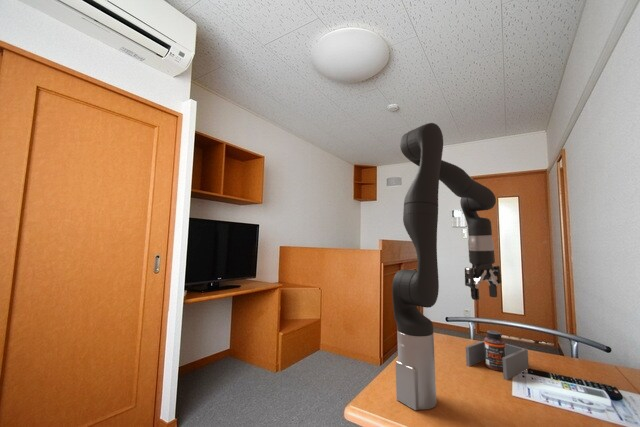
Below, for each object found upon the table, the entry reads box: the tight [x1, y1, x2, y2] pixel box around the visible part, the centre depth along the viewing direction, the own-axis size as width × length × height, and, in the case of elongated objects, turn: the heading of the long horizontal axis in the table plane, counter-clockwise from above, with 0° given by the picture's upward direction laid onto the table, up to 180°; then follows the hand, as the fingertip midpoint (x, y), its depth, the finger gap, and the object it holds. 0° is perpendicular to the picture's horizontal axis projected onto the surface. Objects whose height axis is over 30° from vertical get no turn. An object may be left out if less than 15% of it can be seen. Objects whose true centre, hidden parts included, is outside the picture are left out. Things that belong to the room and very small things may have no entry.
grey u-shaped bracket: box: [465, 340, 530, 381], centre depth 95 cm, size 15×12×6 cm
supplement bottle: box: [483, 329, 506, 372], centre depth 94 cm, size 6×6×11 cm
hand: (484, 298), depth 95 cm, fingers open, 8 cm apart
